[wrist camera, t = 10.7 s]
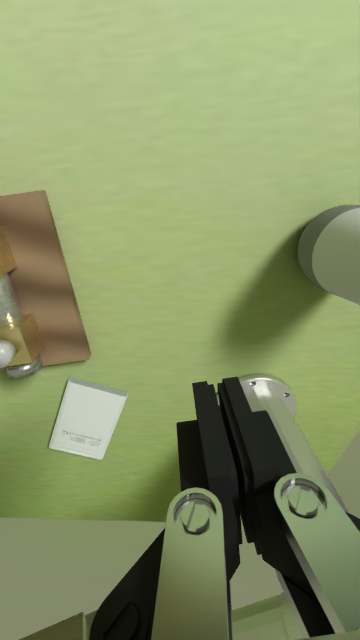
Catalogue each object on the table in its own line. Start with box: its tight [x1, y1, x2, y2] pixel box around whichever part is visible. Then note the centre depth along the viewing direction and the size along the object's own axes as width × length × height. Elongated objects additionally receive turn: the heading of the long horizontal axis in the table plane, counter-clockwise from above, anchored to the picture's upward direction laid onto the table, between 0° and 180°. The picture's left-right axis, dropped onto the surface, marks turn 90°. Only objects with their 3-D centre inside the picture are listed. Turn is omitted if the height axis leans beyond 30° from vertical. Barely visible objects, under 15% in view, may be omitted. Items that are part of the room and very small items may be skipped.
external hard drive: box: [49, 377, 127, 459], centre depth 44 cm, size 2×8×12 cm
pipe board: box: [0, 191, 91, 372], centre depth 36 cm, size 20×14×2 cm
